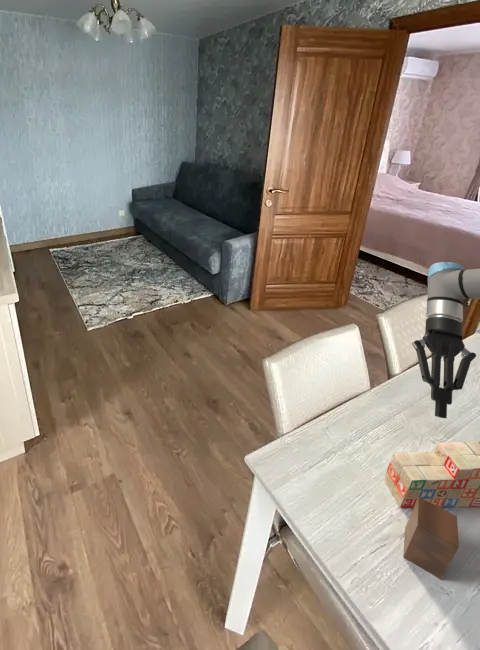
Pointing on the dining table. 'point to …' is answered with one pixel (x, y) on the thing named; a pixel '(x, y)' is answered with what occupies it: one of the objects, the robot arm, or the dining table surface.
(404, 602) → the dining table surface
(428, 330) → the robot arm
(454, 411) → the dining table surface
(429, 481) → the stack of blocks
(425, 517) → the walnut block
